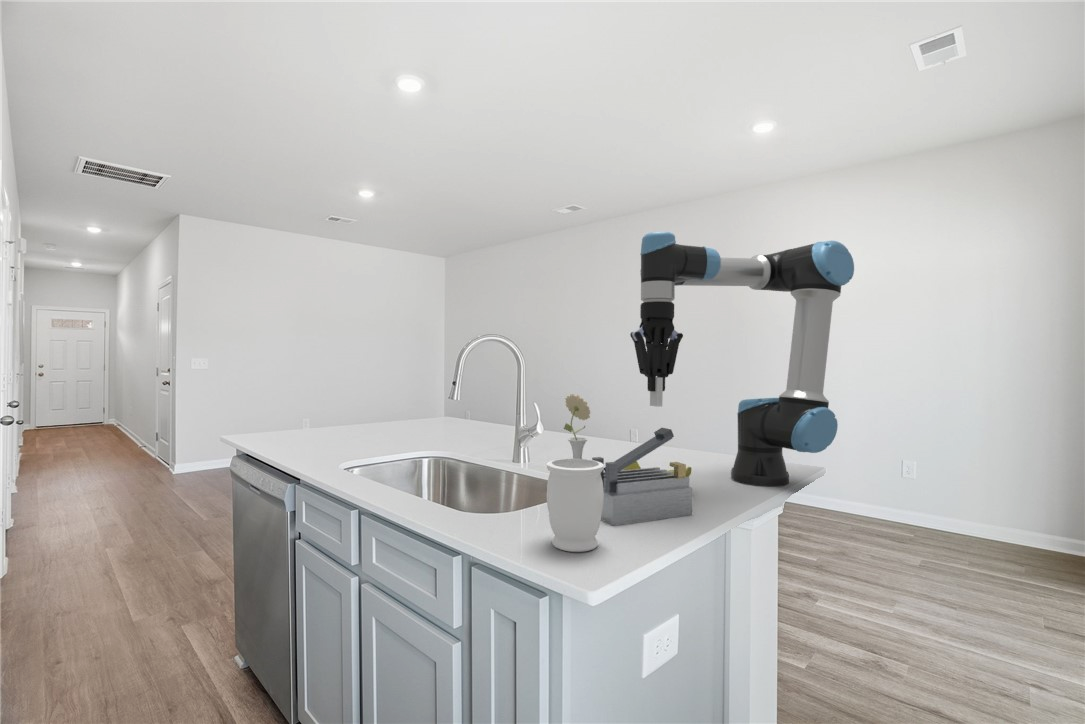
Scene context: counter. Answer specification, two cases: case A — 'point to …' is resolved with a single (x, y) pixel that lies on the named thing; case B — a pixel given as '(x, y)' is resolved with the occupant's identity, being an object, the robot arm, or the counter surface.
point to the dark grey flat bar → (644, 448)
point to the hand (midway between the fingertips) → (656, 405)
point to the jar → (575, 503)
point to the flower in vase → (582, 412)
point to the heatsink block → (644, 493)
